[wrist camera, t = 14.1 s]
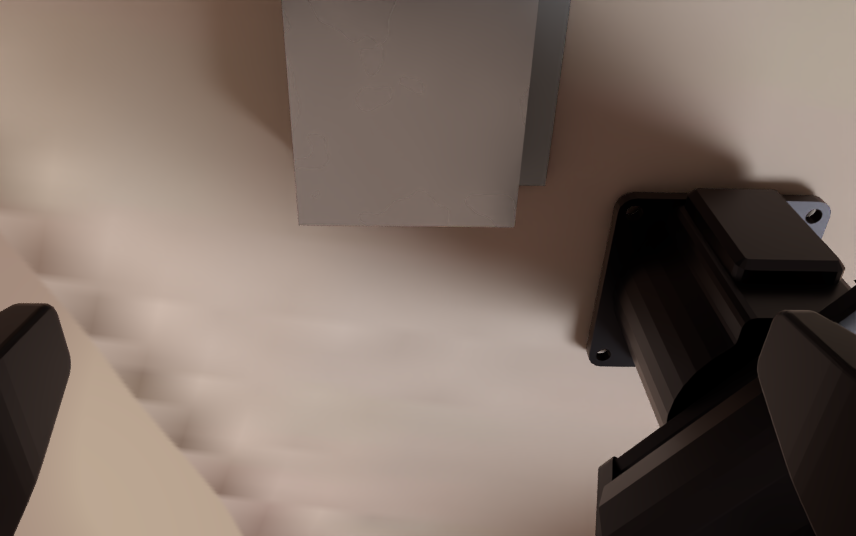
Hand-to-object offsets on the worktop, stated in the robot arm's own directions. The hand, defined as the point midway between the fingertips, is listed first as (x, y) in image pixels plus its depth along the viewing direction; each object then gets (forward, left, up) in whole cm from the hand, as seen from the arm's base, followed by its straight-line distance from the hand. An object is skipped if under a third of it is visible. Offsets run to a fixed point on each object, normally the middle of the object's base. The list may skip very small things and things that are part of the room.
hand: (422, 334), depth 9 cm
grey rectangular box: (0, 0, -12) cm, 12 cm away
